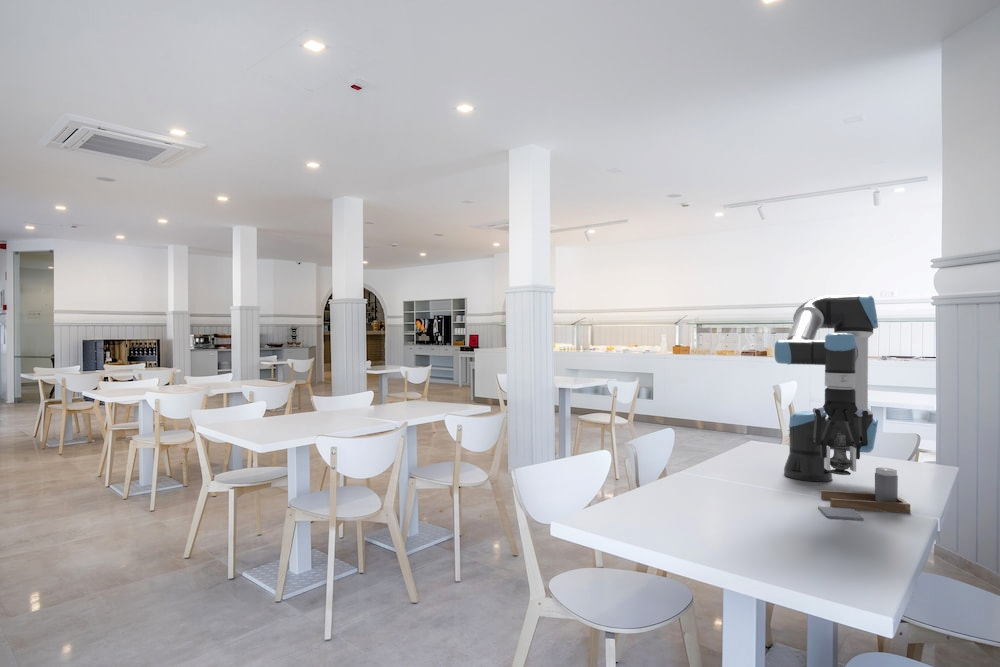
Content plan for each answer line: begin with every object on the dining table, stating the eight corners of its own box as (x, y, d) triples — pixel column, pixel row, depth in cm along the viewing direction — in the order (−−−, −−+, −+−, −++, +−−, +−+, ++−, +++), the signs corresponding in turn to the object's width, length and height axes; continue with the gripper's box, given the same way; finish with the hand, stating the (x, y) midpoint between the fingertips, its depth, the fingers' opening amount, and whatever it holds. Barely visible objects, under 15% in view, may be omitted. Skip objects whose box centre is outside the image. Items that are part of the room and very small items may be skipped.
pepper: (871, 503, 173) (871, 466, 173) (892, 504, 172) (892, 467, 172) (879, 508, 168) (879, 471, 168) (901, 510, 166) (901, 472, 166)
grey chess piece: (855, 475, 159) (855, 432, 159) (832, 474, 161) (832, 431, 161) (847, 470, 165) (847, 429, 165) (825, 469, 166) (825, 428, 166)
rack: (820, 498, 179) (820, 490, 179) (894, 502, 174) (894, 494, 174) (831, 508, 169) (831, 499, 169) (910, 513, 164) (910, 504, 164)
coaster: (817, 508, 168) (817, 506, 168) (852, 510, 166) (852, 508, 166) (827, 517, 160) (827, 515, 160) (863, 520, 157) (863, 518, 157)
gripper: (807, 388, 162) (807, 470, 161) (883, 389, 157) (883, 474, 157) (800, 386, 169) (799, 465, 169) (872, 387, 164) (872, 468, 164)
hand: (840, 469), depth 163 cm, fingers closed on grey chess piece, 6 cm apart
